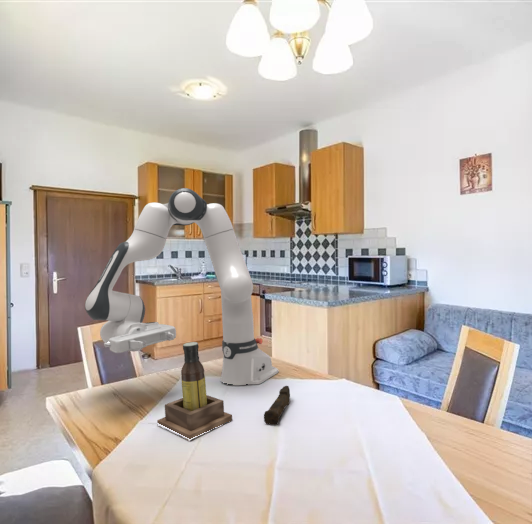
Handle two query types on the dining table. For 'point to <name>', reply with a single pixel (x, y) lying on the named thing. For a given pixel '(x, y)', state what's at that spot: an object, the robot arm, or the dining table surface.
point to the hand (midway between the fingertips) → (158, 341)
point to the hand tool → (277, 407)
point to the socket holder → (194, 417)
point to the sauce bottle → (193, 378)
